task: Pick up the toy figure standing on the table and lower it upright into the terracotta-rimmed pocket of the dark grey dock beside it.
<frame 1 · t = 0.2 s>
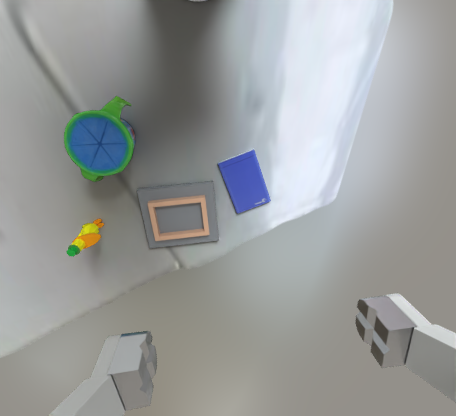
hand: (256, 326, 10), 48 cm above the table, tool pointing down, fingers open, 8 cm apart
toy figure: (99, 222, 59), on the table
snack cup: (116, 136, 52), on the table
hard drive: (244, 181, 59), on the table
dock: (180, 214, 59), on the table
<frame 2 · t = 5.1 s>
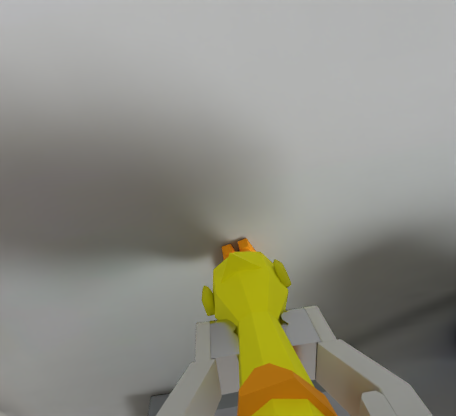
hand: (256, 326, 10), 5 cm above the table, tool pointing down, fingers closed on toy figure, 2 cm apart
toy figure: (239, 257, 15), on the table, touching gripper
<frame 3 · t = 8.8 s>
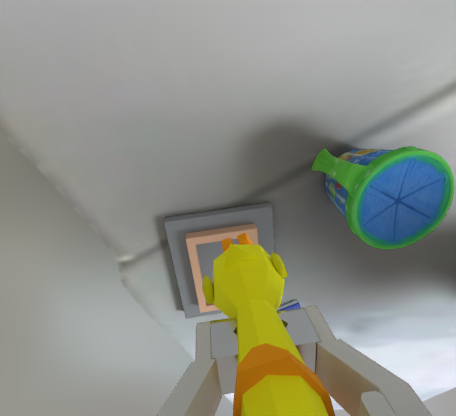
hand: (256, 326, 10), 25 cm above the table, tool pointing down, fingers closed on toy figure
toy figure: (238, 251, 15), point 19 cm above the table, touching gripper
snack cup: (348, 176, 35), on the table
dock: (224, 260, 38), on the table
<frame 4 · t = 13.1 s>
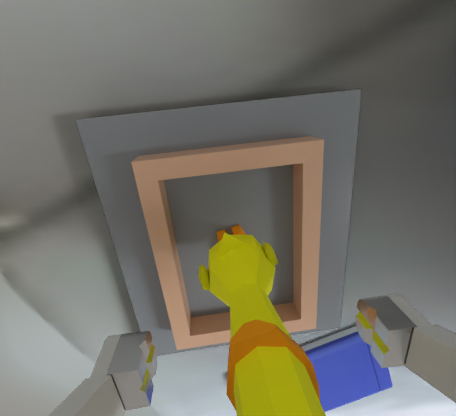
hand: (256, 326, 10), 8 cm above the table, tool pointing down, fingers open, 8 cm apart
toy figure: (233, 242, 16), point 1 cm above the table, touching dock
hard drive: (310, 368, 24), on the table
dock: (233, 234, 17), on the table
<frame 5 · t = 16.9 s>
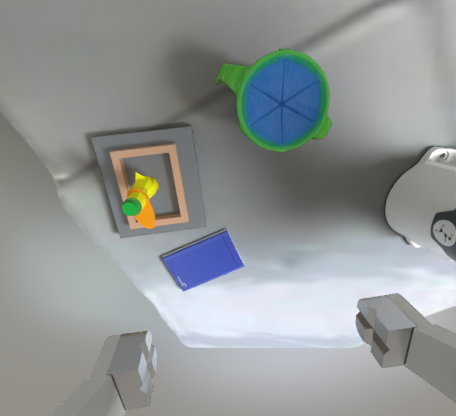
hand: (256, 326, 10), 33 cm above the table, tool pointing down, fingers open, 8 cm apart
toy figure: (152, 185, 40), point 1 cm above the table, touching dock
snack cup: (263, 103, 39), on the table
hard drive: (204, 257, 48), on the table
dock: (154, 183, 41), on the table
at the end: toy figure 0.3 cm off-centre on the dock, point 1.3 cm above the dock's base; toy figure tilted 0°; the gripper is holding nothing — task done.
